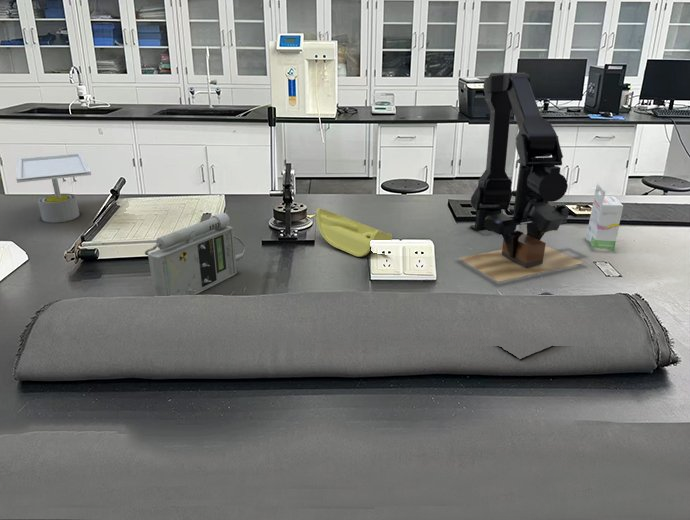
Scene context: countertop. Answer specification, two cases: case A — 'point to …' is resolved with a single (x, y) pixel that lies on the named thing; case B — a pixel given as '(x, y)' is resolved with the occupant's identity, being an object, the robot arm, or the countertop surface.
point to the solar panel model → (54, 182)
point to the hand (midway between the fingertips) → (521, 255)
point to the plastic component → (348, 233)
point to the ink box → (604, 220)
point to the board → (508, 269)
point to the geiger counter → (194, 257)
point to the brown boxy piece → (527, 251)
